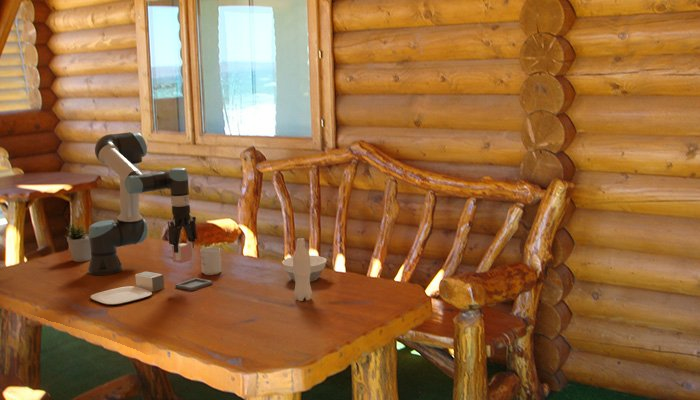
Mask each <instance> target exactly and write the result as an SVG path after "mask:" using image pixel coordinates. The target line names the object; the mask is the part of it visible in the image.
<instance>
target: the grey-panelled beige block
mask: <svg viewBox="0 0 700 400" xmlns="http://www.w3.org/2000/svg"><path fill="white" fill-rule="evenodd" d="M164 280H165V279H164V274H161V273H158V272H157V273H156V272H150V271H143V272H140V273H136V274H135V287H139V288H142V289H145V290H148V291H150V292H152V293H153V292H157V291H160V290H162V289H165V281H164Z"/></svg>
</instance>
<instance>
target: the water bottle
mask: <svg viewBox="0 0 700 400" xmlns="http://www.w3.org/2000/svg"><path fill="white" fill-rule="evenodd" d="M310 256H311V255H310V253H309V251H308V250H307V249H306V241H305V238H303V237H298V238H297V239H296V249H295V251H294V253H293V256H292V257H293V273H294V276H295V281H294V282H295V283H294V284H295V287H294V291H293V294H294V298H295V300H296V301H298V302H303V301H304V299H305V301H306V302H307V301H310V300H311V298H312V294H313V291H312V287H311V282H310V274H311V267H310V260H311V259H310Z"/></svg>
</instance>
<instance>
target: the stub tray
mask: <svg viewBox="0 0 700 400" xmlns="http://www.w3.org/2000/svg"><path fill="white" fill-rule="evenodd" d="M211 285H213V280H210V279H205V278H204V279H203V278H199V277H195V278H194V277H193V278H191V279H188V280H185V281H183V282H179V283H176V284H175V289H178V290H179V289H180V290H185V291H189V292H192V291H193V292H194V291H196V290H200V289H202V288H206V287H208V286H211Z"/></svg>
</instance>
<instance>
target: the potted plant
mask: <svg viewBox="0 0 700 400" xmlns="http://www.w3.org/2000/svg"><path fill="white" fill-rule="evenodd" d="M79 225H80V224H78V225H77V227H76V226H75V224H74V222H72V223H71V224H70V223H68V225H67V226H65V228H66V229H67V231H68V232H67V234H68V235H67V236H66V235H64V237H65V238H66V241H67V244H68V247H69V250H70V251H69V252H70V255H71V258H72V261H73V262H75V263H83V262H89V261H90V259H91V250H90V240H89V228H86V226H85V224H82V225H80V226H79Z"/></svg>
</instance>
